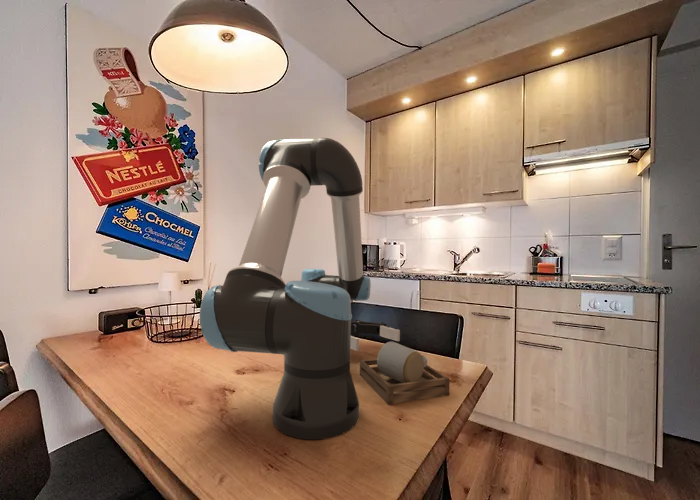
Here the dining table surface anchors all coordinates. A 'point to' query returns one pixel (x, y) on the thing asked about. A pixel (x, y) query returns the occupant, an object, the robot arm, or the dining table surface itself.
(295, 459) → the dining table surface
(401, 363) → the ceramic mug
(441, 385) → the walnut crate
